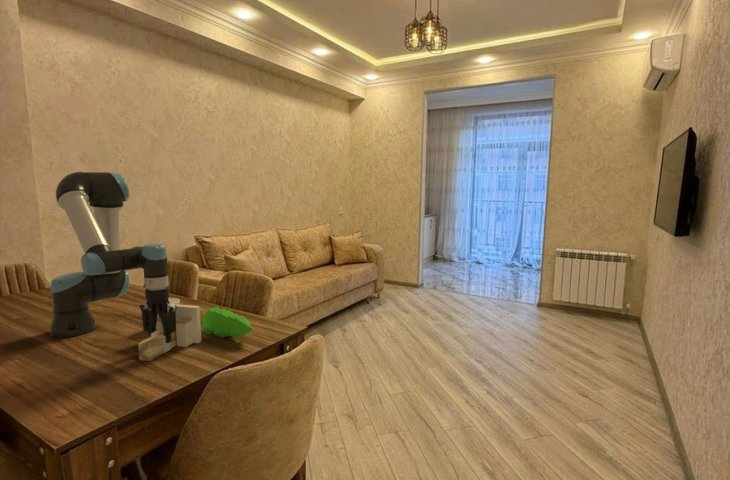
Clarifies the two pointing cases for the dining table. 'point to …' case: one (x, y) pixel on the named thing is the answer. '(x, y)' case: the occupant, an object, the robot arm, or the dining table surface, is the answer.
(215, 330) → the decorative tree
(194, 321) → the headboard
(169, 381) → the dining table surface
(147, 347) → the rail
